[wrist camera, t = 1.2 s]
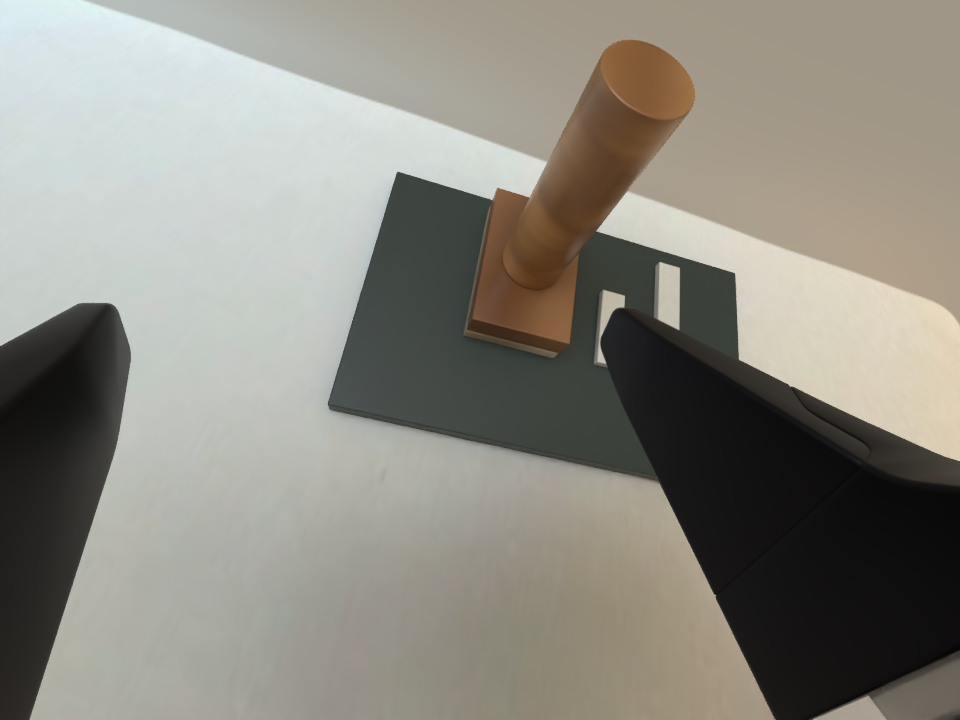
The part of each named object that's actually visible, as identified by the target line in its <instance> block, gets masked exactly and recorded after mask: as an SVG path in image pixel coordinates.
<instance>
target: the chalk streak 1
mask: <svg viewBox="0 0 960 720" xmlns="http://www.w3.org/2000/svg"><path fill="white" fill-rule="evenodd" d="M624 305H625V296H624V295H620V294H617V293H613V292H610V291H606V290H602V291H601V292H600V294H599V305H598V317H597V329H596V341H595V354H594V365H598V366H602V367H606V368H608V367H607V364H606V362H605V359H604V356H603V353H602V351H601V347H600V339H601V336H602V334H603V332H604V329H605V327H606V325H607V323H608V321H609V318H610V316H611V314H612V312H613V311H614V310H615V309H617V308H619V307H624Z"/></svg>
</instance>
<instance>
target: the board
mask: <svg viewBox="0 0 960 720" xmlns="http://www.w3.org/2000/svg"><path fill="white" fill-rule="evenodd" d="M491 203H492V200H490V199H487V198H483V197H480V196H477V195H473V194H470V193H467V192H463V191H460V190H457V189H453V188H450V187H447V186H443V185H440V184H437V183H434V182H430V181H427V180H424V179H420V178H417V177H414V176H410V175H407V174H404V173H400V172H397V174H396V177H395V181H394V184H393V187H392V191H391V194H390V197H389V201H388V204H387V207H386V211H385V214H384V217H383V221H382V224H381V228H380V231H379V234H378V238H377V241H376V244H375V248H374V251H373V254H372V258H371V261H370V264H369V268H368V271H367V274H366V278H365V281H364V284H363V288H362V291H361V294H360V298H359V301H358V304H357V308H356V311H355V315H354V318H353V321H352V325H351V328H350V331H349V335H348V338H347V341H346V345H345V348H344V351H343V355H342V358H341V361H340V365H339V368H338V371H337V375H336V378H335V381H334V385H333V388H332V392H331V395H330V398H329V402H328V406H329V409H330V410H335V411H339V412H344V413H348V414H353V415H358V416H362V417H367V418H372V419H376V420H381V421H385V422H390V423H395V424H399V425H404V426H408V427H413V428H418V429H422V430H427V431H431V432H436V433H441V434H445V435H450V436H454V437H459V438H464V439H468V440H473V441H478V442H482V443H487V444H491V445H496V446H501V447H505V448H510V449H514V450H519V451H524V452H528V453H533V454H537V455H542V456H547V457H551V458H556V459H560V460H565V461H570V462H574V463H579V464H583V465H588V466H593V467H597V468H602V469H607V470H611V471H616V472H620V473H625V474H630V475H634V476H639V477H643V478H648V479H653V480H657V481H658V479H657V477H656V475H655V473H654V470H653V468H652V466H651V464H650V462H649V460H648V458H647V456H646V454H645V452H644V450H643V448H642V446H641V444H640V442H639V440H638V438H637V436H636V434H635V432H634V430H633V428H632V426H631V424H630V421H629V419H628V417H627V415H626V413H625V411H624V409H623V407H622V404H621V402H620V399H619V397H618V394H617V392H616V389H615V386H614V383H613V381H612V378H611V375H610V373H609V370H608V368H606V367H602V366H598V365H594V354H595V341H596V329H597V317H598V305H599V294H600V292H601V291H602V290H606V291H610V292H613V293H617V294H620V295H624V296H625V305H624V307H632V308H636V309H638V310H640V311H642V312H644V313H646V314H648V315H650V316H652V317H654V294H655V266H656V265H657V264H658V263H659V262H662V263H665V264H668V265H672V266H675V267H678V268H680V321H679V330H680V331H682V332H684V333H686V334H688V335H690V336H692V337H694V338H696V339H698V340H700V341H702V342H704V343H706V344H708V345H710V346H712V347H714V348H716V349H718V350H720V351H722V352H724V353H726V354H728V355H730V356H732V357H734V358H736V359H738V360H739V353H738V330H737V306H736V283H735V273H732V272H729V271H726V270H722V269H719V268H716V267H712V266H709V265H706V264H702V263H699V262H696V261H692V260H689V259H686V258H682V257H679V256H676V255H672V254H669V253H666V252H662V251H659V250H656V249H653V248H649V247H646V246H643V245H639V244H636V243H633V242H629V241H626V240H623V239H619V238H616V237H613V236H609V235H606V234H603V233H599V232H595V233H594V234H593V236H592V237H591V238H590V239H589V241H588V242H587V243H586V244H585V246H584V247H583V248H582V250H581V251H580V252H579V258H578V268H577V277H576V287H575V297H574V306H573V316H572V325H571V335H570V344H569V345H568V346H567V347H565V348H564V349H563V350H562V351H561V352H560V353H558V354H557V355H556V356H555V357H554V358H550V357H546V356H542V355H538V354H534V353H530V352H526V351H522V350H518V349H514V348H510V347H506V346H502V345H498V344H494V343H490V342H486V341H482V340H479V339H475V338H471V337H467V336H464V329H465V324H466V319H467V314H468V309H469V304H470V299H471V294H472V289H473V283H474V278H475V273H476V268H477V263H478V258H479V253H480V248H481V243H482V238H483V233H484V228H485V223H486V218H487V213H488V210H489V208H490V206H491Z"/></svg>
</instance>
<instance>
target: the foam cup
mask: <svg viewBox="0 0 960 720" xmlns="http://www.w3.org/2000/svg"><path fill="white" fill-rule="evenodd" d="M814 720H886V718H885V717H884V716H883V714H882V713H881V712H880V710H879V709H878V708H877V706H876V705H875V704H874V702H873V701H872V700H871V698H870V697H869V696H867V697H865V698H862V699H860V700H858V701H855V702H853V703H851V704H848V705H846V706H844V707H841V708H839V709H837V710H834V711H832V712H830V713H827V714H825V715H823V716H820V717H818V718H816V719H814Z"/></svg>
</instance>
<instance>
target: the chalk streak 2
mask: <svg viewBox="0 0 960 720" xmlns="http://www.w3.org/2000/svg"><path fill="white" fill-rule="evenodd" d="M654 318H656V319H658V320H660V321H662V322H664V323H666V324H668V325H670V326H672V327H674V328H676V329H678V330H679V321H680V268H678V267H675V266H672V265H668V264H665V263H662V262H659V263H658V264H657V265H656V266H655V294H654Z"/></svg>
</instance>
